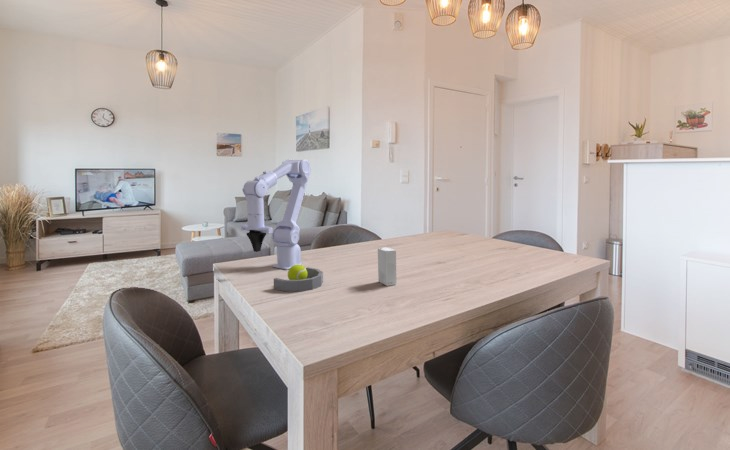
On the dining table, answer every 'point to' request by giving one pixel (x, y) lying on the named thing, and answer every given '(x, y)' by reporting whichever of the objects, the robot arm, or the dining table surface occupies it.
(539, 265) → the dining table surface
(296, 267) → the tennis ball
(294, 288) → the catch ring
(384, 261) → the skincare box
